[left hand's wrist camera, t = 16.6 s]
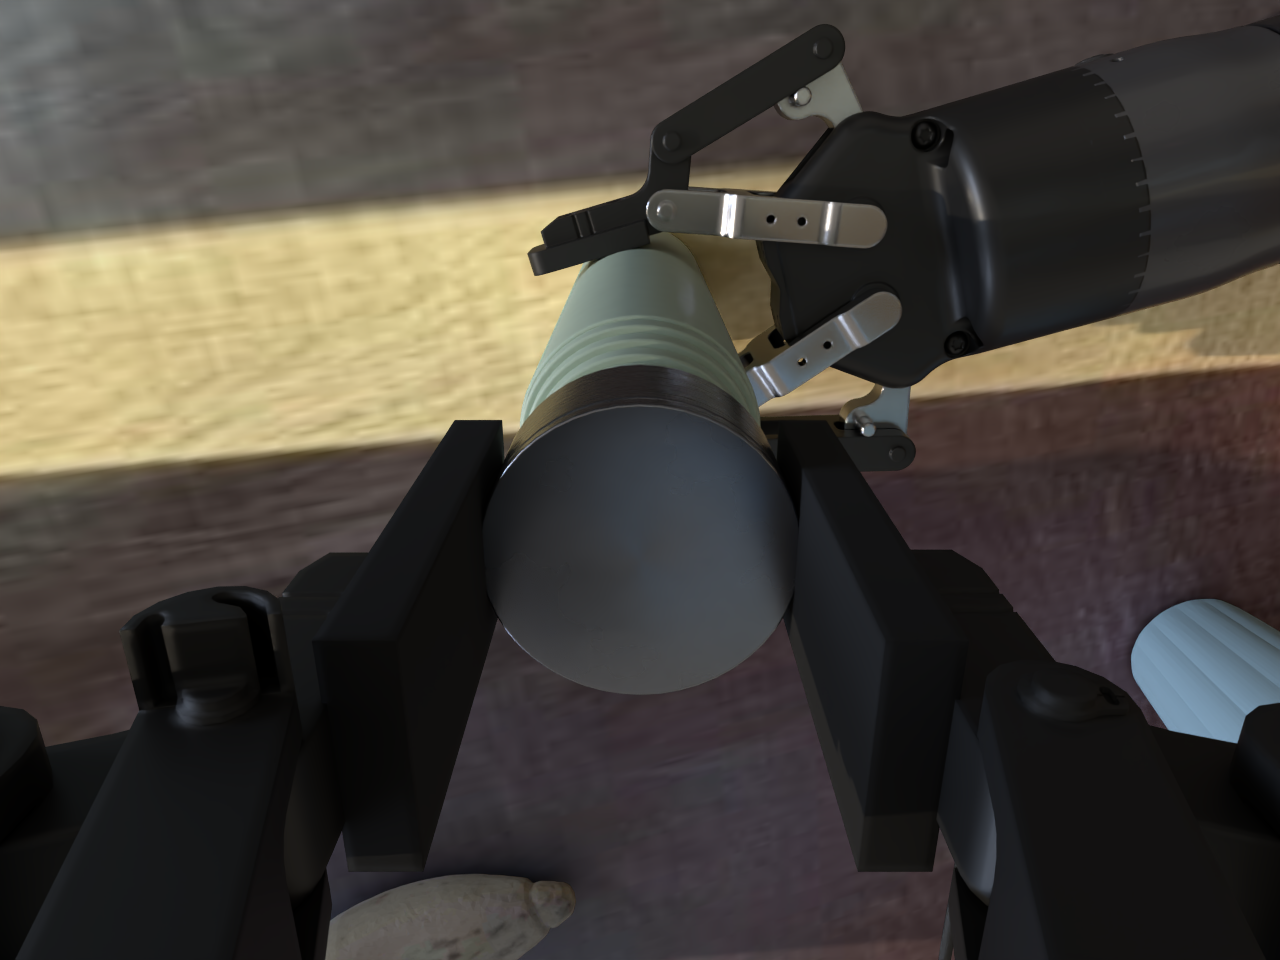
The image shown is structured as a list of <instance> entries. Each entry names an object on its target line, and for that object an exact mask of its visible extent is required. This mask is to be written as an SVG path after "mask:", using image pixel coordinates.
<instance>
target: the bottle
mask: <svg viewBox="0 0 1280 960" xmlns="http://www.w3.org/2000/svg"><path fill="white" fill-rule="evenodd" d="M650 242H651V244H647V245H644V246H640V247H637V248H633V249H630V250H626V251H622V252H617V253H615V254H612V255H609V256H606V257H602V258H599V259H595V260H592V261H588V262H585V263H583V265H582V268H581V270H580V272H579V274H578V277H577V279H576V281H575V283H574V286H573V288H572V290H571V292H570V295H569V297H568V299H567V301H566V304H565V306H564V308H563V310H562V313H561V315H560V317H559V319H558V322H557V324H556V326H555V328H554V331H553V333H552V335H551V337H550V340H549V342H548V344H547V346H546V348H545V351H544V353H543V355H542V357H541V360H540V362H539V364H538V366H537V369H536V371H535V373H534V375H533V378H532V380H531V382H530V385H529V387H528V389H527V392H526V395H525V398H524V402H523V406H522V412H521V419H520V428H521V426H522V425H523V423H524V422H525V420H526V419H527V418H528V417H529V416H530V414H531V413H532V412H533V411H534V410H535V409H536V407H537V406H538V405H540V404H541V403H542V402H543V401H544V400H545V399H546V398H548V397H549V396H550V395H551V394H552V393H554V392H555V391H557V390H558V389H560V388H561V387H563V386H564V385H566V384H568V383H570V382H572V381H574V380H576V379H578V378H580V377H582V376H584V375H587V374H590V373H593V372H596V371H599V370H603V369H608V368H613V367H618V366H627V365H655V366H663V367H668V368H673V369H678V370H681V371H685V372H688V373H691V374H694V375H697V376H699V377H701V378H703V379H705V380H707V381H709V382H711V383H713V384H715V385H716V386H718V387H719V388H721V389H722V390H724V391H726V392H727V393H729V394H730V395H731V396H732V397H733V398H734V399H736V400H737V401H738V402H739V403H740V404H741V405H743V406H744V408H745V409H746V410H747V411H748V412H749V413H750V414H751V416H752V417H753V418H754V419H755V420H756V422H757V423H758V425H759V426H760V414H759V408H758V403H757V399H756V396H755V393H754V390H753V387H752V385H751V383H750V380H749V378H748V376H747V374H746V371H745V369H744V367H743V365H742V363H741V360H740V358H739V356H738V354H737V351H736V349H735V347H734V345H733V342H732V340H731V338H730V336H729V333H728V331H727V329H726V327H725V324H724V322H723V320H722V318H721V316H720V313H719V311H718V309H717V307H716V304H715V302H714V300H713V298H712V295H711V293H710V291H709V289H708V286H707V284H706V282H705V280H704V278H703V275H702V273H701V271H700V269H699V266H698V264H697V262H696V260H695V258H694V256H693V255H692V253H691V252H690V250H689V249H688V248H687V247H686V246H685V244H684V243H683V242H681V241H680V240H679V239H678V238H677V237H675V236H674V235H672V234H670V233H668V232H661V233H658V234H654V235H651V236H650ZM760 428H761V427H760Z"/></svg>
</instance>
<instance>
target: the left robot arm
mask: <svg viewBox="0 0 1280 960" xmlns="http://www.w3.org/2000/svg"><path fill="white" fill-rule="evenodd" d="M776 461H777V463H778V465H779V468H780V470H781V472H782V475H783V477H784V480H785V482H786V484H787V487H788V489H789V492H790V494H791V496H792V499H793V501H794V504H795V508H796V511H797V514H798V518H799V536H798V549H797V563H796V577H795V589H794V596H793V598H792V601H791V603H790V605H789V607H788V610H787V612H786V613H785V615H784V617H783V619H784V622H785V626H786V629H787V632H788V636H789V639H790V643H791V646H792V649H793V653H794V656H795V660H796V663H797V666H798V670H799V673H800V677H801V680H802V683H803V687H804V690H805V693H806V697H807V700H808V704H809V707H810V710H811V714H812V717H813V721H814V724H815V727H816V731H817V734H818V738H819V741H820V744H821V748H822V751H823V755H824V758H825V761H826V765H827V768H828V772H829V775H830V778H831V782H832V785H833V789H834V792H835V795H836V799H837V802H838V806H839V809H840V812H841V816H842V819H843V823H844V826H845V829H846V833H847V836H848V840H849V843H850V846H851V850H852V853H853V857H854V860H855V863H856V867H857V870H858V872H932V871H933V864H934V858H935V852H936V846H937V840H938V833H939V827H940V829H941V831H942V834H943V836H944V838H945V841H946V843H947V845H948V848H949V850H950V852H951V854H952V857H953V859H954V861H955V864H954V870H953V876H952V882H951V887H950V893H949V899H948V905H947V911H946V916H945V922H944V928H943V934H942V940H941V946H940V953H939V960H951V956H952V951H953V948H954V956H955V960H1280V703H1273V704H1267V705H1260V706H1258V707H1256V708H1255V709H1254V710H1253V711H1251V712H1250V713H1249V714H1247V715H1246V716H1245V720H1244V723H1243V726H1242V729H1241V733H1240V736H1239V739H1238V742H1237V743H1233V742H1227V741H1222V740H1217V739H1212V738H1207V737H1201V736H1196V735H1191V734H1186V733H1181V732H1175V731H1170V730H1166V729H1162V728H1158V727H1154V726H1150V725H1148V723H1147V721H1146V719H1145V717H1144V715H1143V713H1142V711H1141V709H1140V708H1139V707H1138V705H1137V704H1136V703H1135V702H1134V701H1133V699H1132V698H1131V697H1130V696H1129V695H1128V693H1127V692H1125V691H1124V690H1122V689H1121V688H1119V687H1118V686H1116V685H1115V684H1113V683H1112V682H1110V681H1109V680H1107V679H1106V678H1104V677H1102V676H1099V675H1097V674H1094V673H1092V672H1089V671H1087V670H1084V669H1082V668H1079V667H1077V666H1073V665H1068V664H1063V663H1058V662H1056V661H1055V660H1054V659H1053V658H1052V656H1051V655H1050V654H1049V652H1048V651H1047V650H1046V649H1045V647H1044V646H1043V645H1042V644H1041V642H1040V641H1039V640H1038V639H1037V637H1036V636H1035V635H1034V633H1033V632H1032V631H1031V630H1030V628H1029V627H1028V626H1027V625H1026V623H1025V622H1024V621H1023V619H1022V618H1021V617H1020V616H1019V614H1018V613H1017V612H1013V607H1012V606H1011V604H1010V603H1009V602H1008V600H1007V599H1006V598H1005V597H1004V595H1003V594H999V589H998V588H997V586H996V585H995V584H994V583H993V581H992V580H991V579H990V578H989V576H988V575H987V574H986V573H985V571H984V570H983V569H982V568H981V567H979V566H978V565H976V564H974V563H973V562H971V561H969V560H968V559H966V558H964V557H963V556H961V555H959V554H958V553H956V552H954V551H953V550H910V548H909V547H908V545H907V544H906V542H905V541H904V539H903V538H902V536H901V534H900V533H899V531H898V530H897V528H896V527H895V525H894V524H893V522H892V521H891V519H890V518H889V516H888V514H887V513H886V511H885V510H884V508H883V507H882V505H881V504H880V502H879V501H878V499H877V498H876V496H875V494H874V493H873V491H872V490H871V488H870V487H869V485H868V484H867V482H866V481H865V479H864V478H863V476H862V474H861V473H860V471H859V470H858V468H857V467H856V465H855V464H854V462H853V461H852V459H851V458H850V456H849V454H848V453H847V451H846V450H845V448H844V447H843V445H842V444H841V442H840V441H839V439H838V438H837V436H836V434H835V433H834V431H833V430H832V428H831V427H830V425H829V424H828V422H827V421H826V420H779V428H778V444H777V460H776ZM503 463H504V444H503V427H502V420H455V421H454V422H453V424H452V425H451V427H450V428H449V430H448V431H447V433H446V434H445V436H444V438H443V439H442V441H441V442H440V444H439V445H438V447H437V448H436V450H435V451H434V453H433V455H432V456H431V458H430V459H429V461H428V462H427V464H426V465H425V467H424V468H423V470H422V471H421V473H420V475H419V476H418V478H417V479H416V481H415V482H414V484H413V485H412V487H411V488H410V490H409V491H408V493H407V495H406V496H405V498H404V499H403V501H402V502H401V504H400V505H399V507H398V508H397V510H396V512H395V513H394V515H393V516H392V518H391V519H390V521H389V522H388V524H387V525H386V527H385V528H384V530H383V532H382V533H381V535H380V536H379V538H378V539H377V541H376V542H375V544H374V545H373V547H372V548H371V550H370V552H369V553H328V554H327V555H325V556H324V557H322V558H320V559H319V560H317V561H315V562H314V563H312V564H310V565H309V566H307V567H305V568H304V569H302V570H301V571H299V572H298V574H297V575H296V576H295V578H294V579H293V580H292V581H291V583H290V584H289V585H288V586H287V588H286V589H285V590H284V592H283V596H282V597H279V598H276V597H275V596H273V595H272V594H271V593H269V592H268V591H265V590H261V589H256V588H251V587H247V586H226V587H213V588H208V589H202V590H196V591H191V592H187V593H184V594H181V595H178V596H175V597H172V598H169V599H166V600H163V601H160V602H158V603H156V604H154V605H152V606H151V607H149V608H147V609H145V610H143V611H142V612H140V613H138V614H136V615H134V616H133V617H132V618H131V619H130V620H129V621H128V622H127V623H126V624H125V625H124V626H123V627H122V628H121V629H120V630H119V632H120V636H121V640H122V644H123V648H124V652H125V655H126V659H127V663H128V667H129V671H130V675H131V679H132V683H133V687H134V691H135V695H136V699H137V703H138V707H139V712H138V714H137V716H136V718H135V720H134V722H133V724H132V726H131V728H130V730H127V731H123V732H119V733H115V734H110V735H105V736H100V737H95V738H90V739H84V740H79V741H74V742H69V743H64V744H59V745H53V746H48V747H45V745H44V741H43V738H42V735H41V732H40V728H39V725H38V722H37V719H35V718H34V717H33V716H31V715H30V714H29V713H28V712H26V711H25V710H23V709H16V708H10V707H3V706H0V960H325V958H326V950H327V942H328V934H329V926H330V917H331V909H332V901H331V894H330V888H329V882H328V876H327V870H326V866H327V864H328V862H329V859H330V857H331V855H332V852H333V850H334V848H335V845H336V843H337V841H338V838H339V836H340V834H341V831H342V833H343V839H344V846H345V852H346V858H347V864H348V871H349V872H423V870H424V867H425V864H426V860H427V857H428V853H429V850H430V847H431V843H432V840H433V836H434V833H435V830H436V826H437V823H438V819H439V816H440V813H441V809H442V806H443V802H444V799H445V796H446V792H447V789H448V785H449V782H450V779H451V775H452V772H453V768H454V765H455V762H456V758H457V755H458V751H459V748H460V744H461V741H462V738H463V734H464V731H465V727H466V724H467V721H468V717H469V714H470V710H471V707H472V704H473V700H474V697H475V693H476V690H477V687H478V683H479V680H480V676H481V673H482V670H483V666H484V663H485V659H486V656H487V653H488V649H489V646H490V642H491V639H492V636H493V632H494V629H495V625H496V622H497V619H498V617H497V615H496V614H495V612H494V610H493V607H492V605H491V603H490V601H489V599H488V597H487V589H486V576H485V562H484V549H483V535H482V518H483V514H484V511H485V507H486V504H487V501H488V499H489V496H490V494H491V492H492V489H493V487H494V484H495V482H496V480H497V477H498V475H499V472H500V470H501V468H502V465H503Z"/></svg>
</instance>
